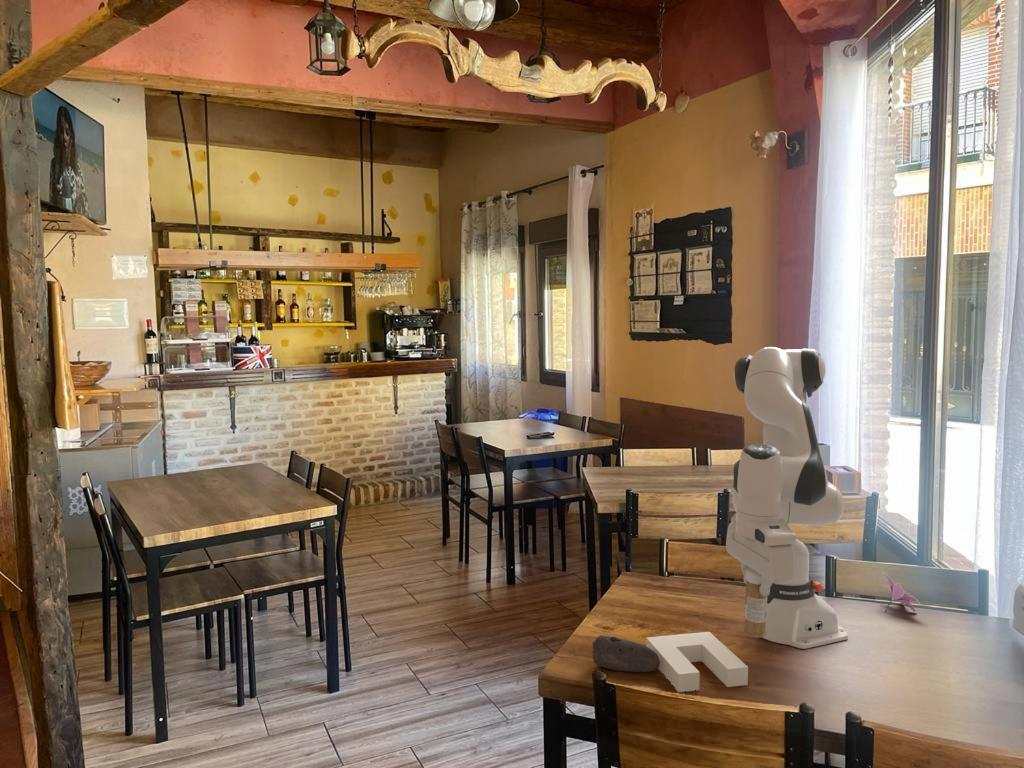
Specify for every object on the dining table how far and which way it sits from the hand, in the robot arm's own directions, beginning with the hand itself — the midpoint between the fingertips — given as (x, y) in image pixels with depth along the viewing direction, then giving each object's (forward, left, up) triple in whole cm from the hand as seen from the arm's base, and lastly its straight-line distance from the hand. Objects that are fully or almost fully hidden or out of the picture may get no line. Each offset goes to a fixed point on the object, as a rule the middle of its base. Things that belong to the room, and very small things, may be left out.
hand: (756, 589), depth 150 cm
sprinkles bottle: (0, 0, -10) cm, 10 cm away
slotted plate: (+7, -13, -23) cm, 27 cm away
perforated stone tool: (+23, -15, -23) cm, 36 cm away
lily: (-61, -32, -23) cm, 73 cm away
